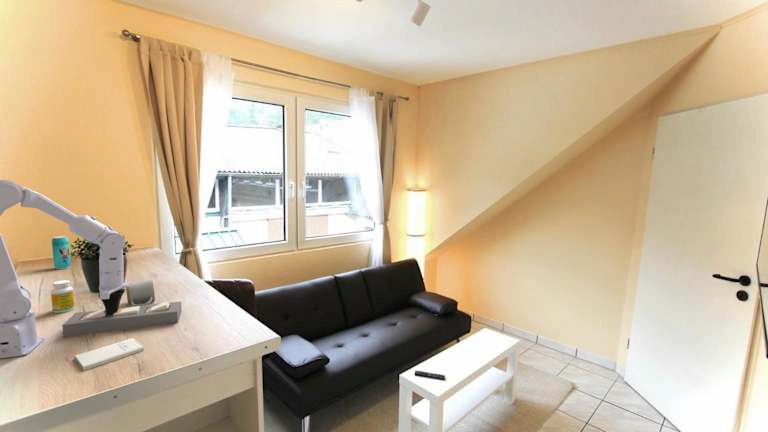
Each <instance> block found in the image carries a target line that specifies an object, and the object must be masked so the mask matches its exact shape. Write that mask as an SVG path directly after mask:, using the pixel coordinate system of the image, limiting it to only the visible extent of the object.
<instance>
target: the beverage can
mask: <svg viewBox="0 0 768 432" xmlns="http://www.w3.org/2000/svg"><path fill="white" fill-rule="evenodd" d="M51 238H52V239H51V245H52V246H51V247H52V248H51V249H52V258H53V266H54V268H55V270H67V269H69V268H70V267H71V264H72V263H71V250H70V249H71V248H70V240H69V238H68V235H57V236H52V237H51ZM68 253H70V255H68Z"/></svg>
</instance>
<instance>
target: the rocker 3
mask: <svg viewBox="0 0 768 432" xmlns="http://www.w3.org/2000/svg"><path fill="white" fill-rule="evenodd" d="M169 303H170V302H169V301H168V300H166V301H164V302H161V303H157V304H158V305H156V306H153V307H151V308H148V309H147V310H146V312H153V311H162V310H166V309H168V307H169V305H170V304H169Z"/></svg>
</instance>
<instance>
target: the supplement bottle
mask: <svg viewBox="0 0 768 432" xmlns="http://www.w3.org/2000/svg"><path fill="white" fill-rule="evenodd" d="M70 283H71V282H70V280H68V279H66V280H65V279H64V280H57V281H55V282H52V287H53V289H51V290H50V296H51V298H50V299H51V307H52V312H53V313H56V314H57V313H66V312H70V311H72V310H74V309H75V299H74V298H75V297H74V288H73V287H72V286H70V285H71V284H70Z"/></svg>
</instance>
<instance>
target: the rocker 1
mask: <svg viewBox="0 0 768 432" xmlns="http://www.w3.org/2000/svg"><path fill="white" fill-rule="evenodd" d="M95 311H96V312H93V313H90V314H88V315H85V316H84V317H83V318H82V319H81V320H84V319H93V318H101V317H104V316H106V315H107V312H106V309H105V307H104V308H101V309H99V311H97V310H95Z"/></svg>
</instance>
